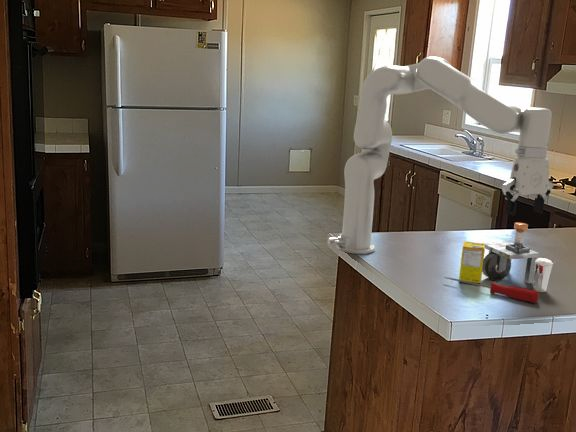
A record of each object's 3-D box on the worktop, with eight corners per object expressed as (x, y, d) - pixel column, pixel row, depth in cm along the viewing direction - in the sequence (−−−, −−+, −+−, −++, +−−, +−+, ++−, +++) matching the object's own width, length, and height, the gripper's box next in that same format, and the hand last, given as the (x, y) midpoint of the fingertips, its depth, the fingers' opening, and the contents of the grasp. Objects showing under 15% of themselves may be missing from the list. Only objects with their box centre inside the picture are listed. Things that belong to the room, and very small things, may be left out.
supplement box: (480, 279, 174) (485, 243, 171) (480, 286, 168) (485, 248, 165) (459, 276, 175) (463, 240, 173) (458, 283, 170) (462, 246, 167)
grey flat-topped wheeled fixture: (497, 287, 168) (501, 252, 165) (470, 273, 179) (474, 240, 176) (533, 283, 172) (539, 249, 170) (505, 270, 183) (510, 238, 181)
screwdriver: (445, 281, 171) (446, 269, 170) (538, 301, 159) (540, 289, 158) (441, 284, 168) (442, 272, 167) (536, 305, 156) (538, 293, 155)
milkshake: (550, 295, 164) (555, 260, 161) (529, 290, 166) (534, 256, 164) (552, 290, 168) (558, 256, 165) (532, 286, 170) (537, 252, 168)
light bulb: (516, 251, 170) (520, 226, 168) (508, 247, 173) (511, 222, 172) (527, 250, 171) (530, 225, 170) (518, 247, 174) (521, 222, 173)
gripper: (516, 155, 159) (508, 218, 163) (566, 154, 165) (558, 215, 169) (497, 151, 166) (490, 212, 170) (546, 151, 172) (538, 209, 176)
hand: (524, 213), depth 170 cm, fingers open, 9 cm apart
